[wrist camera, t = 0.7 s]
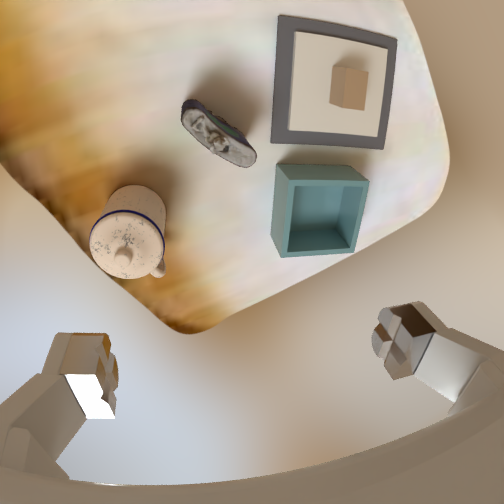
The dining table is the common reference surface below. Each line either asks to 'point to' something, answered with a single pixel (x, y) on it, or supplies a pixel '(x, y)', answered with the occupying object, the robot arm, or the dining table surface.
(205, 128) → the flask
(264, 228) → the dining table surface
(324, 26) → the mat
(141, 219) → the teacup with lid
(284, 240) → the teal open box
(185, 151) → the dining table surface
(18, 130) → the dining table surface
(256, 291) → the dining table surface
